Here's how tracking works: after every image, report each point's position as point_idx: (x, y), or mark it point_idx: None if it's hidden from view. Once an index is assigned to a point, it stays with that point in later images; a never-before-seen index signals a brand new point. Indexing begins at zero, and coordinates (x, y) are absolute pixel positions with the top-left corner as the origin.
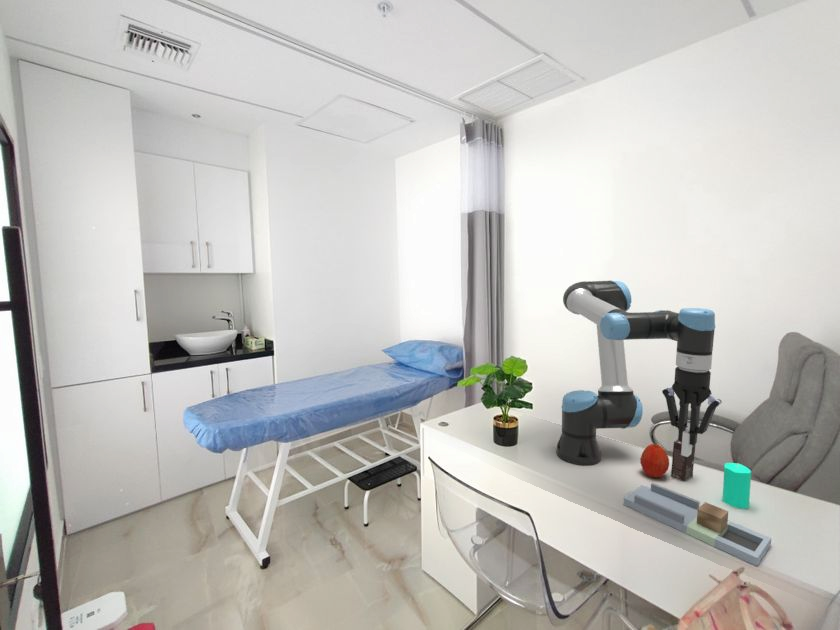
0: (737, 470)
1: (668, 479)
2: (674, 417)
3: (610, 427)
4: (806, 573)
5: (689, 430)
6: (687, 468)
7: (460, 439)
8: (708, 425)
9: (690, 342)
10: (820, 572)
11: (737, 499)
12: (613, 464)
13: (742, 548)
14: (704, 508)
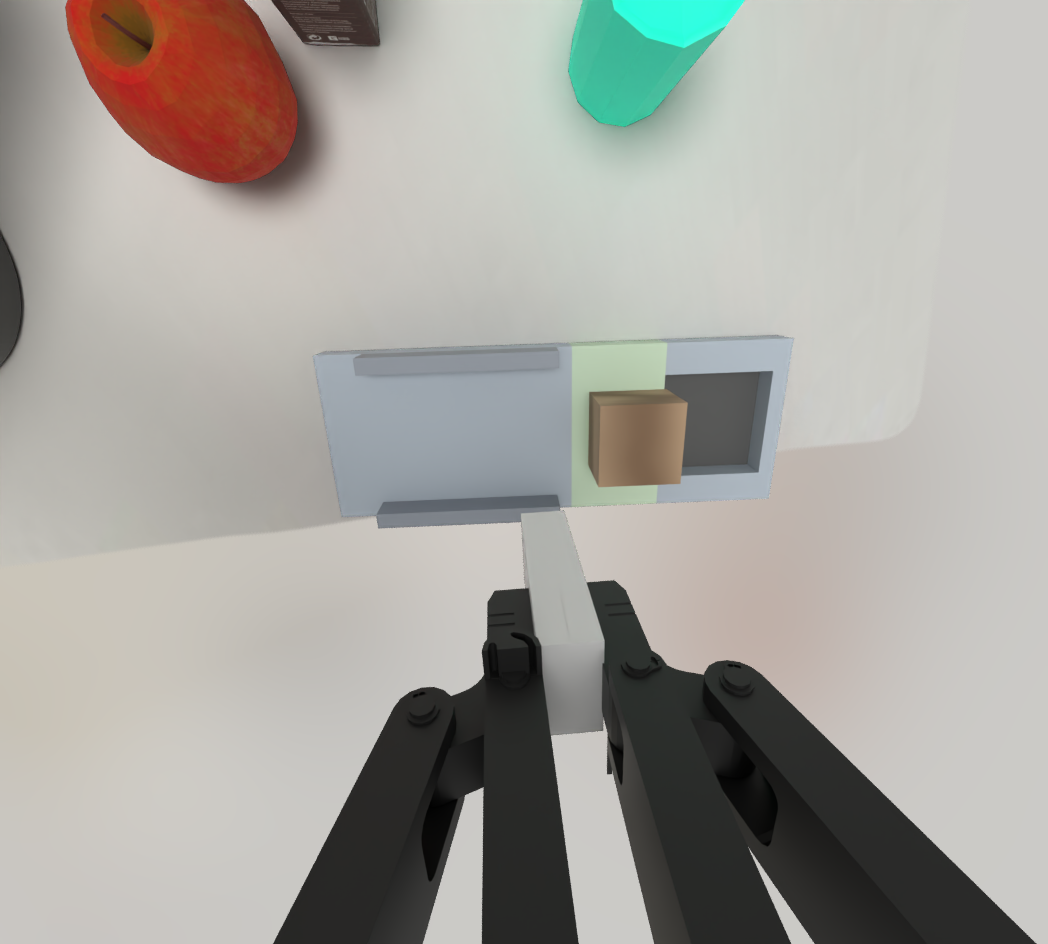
0: None
1: (318, 100)
2: (434, 896)
3: None
4: (865, 406)
5: (574, 663)
6: None
7: None
8: (825, 746)
9: None
10: (898, 365)
11: (649, 105)
12: (57, 192)
13: (728, 484)
14: (615, 461)
